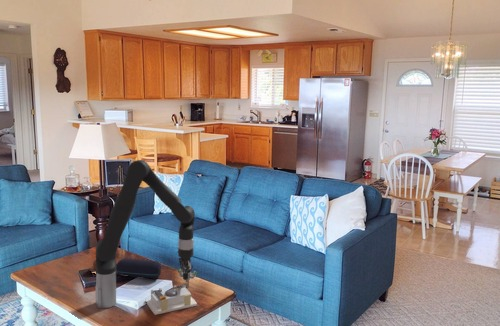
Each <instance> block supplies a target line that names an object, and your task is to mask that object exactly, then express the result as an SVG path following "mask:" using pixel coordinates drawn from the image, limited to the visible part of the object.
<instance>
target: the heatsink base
mask: <svg viewBox="0 0 500 326" xmlns="http://www.w3.org/2000/svg"><path fill="white" fill-rule="evenodd" d="M181 285H182V283H181ZM177 286H178V285H173V288H172V289H167V290H163V289H162V288H161V287H160V288H158V290H159V291H160V292H161V293H162V295H163V296H164V295H165V297H166V299H164V300H160V299H159V297H158V296H157V295H156V294H155V293H154V291H155V290H154V289H151V290H150V298H151V299H150V300H148V301H147V303H146V304H147V306H148V307H149V309H150V311H151V312H152V314H154V316H156V315H160V314H165V313H169V312H173V311H178V310H179V311H180V310H183V309H187V308H188V309H189V308H192V307H196V306H197V307H198V303H197V302H196V300H195V299H194V298H193V297H192V294H191V292H190V290H188V288H186V286H182V287H180V288H177Z"/></svg>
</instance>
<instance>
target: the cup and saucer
mask: <svg viewBox="0 0 500 326" xmlns="http://www.w3.org/2000/svg"><path fill="white" fill-rule="evenodd" d="M92 264H93V265H92V266H90V268H88V270H89V269H94V270H96V259H95V260H94V261H93V263H92Z"/></svg>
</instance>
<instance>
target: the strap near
mask: <svg viewBox="0 0 500 326" xmlns="http://www.w3.org/2000/svg"><path fill="white" fill-rule="evenodd" d="M154 293H155V294H156V295H157V296H158V297H159V299H160V300H164V299H166V297H165V295H164V296H163V295H162V293H161V292H160V291H159V289H155V290H154Z"/></svg>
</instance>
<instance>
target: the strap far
mask: <svg viewBox="0 0 500 326" xmlns="http://www.w3.org/2000/svg"><path fill="white" fill-rule="evenodd" d="M181 284H182V285H176V286H177V289H178V288H181V287H182V286H184V287H186V285H188V282H186V281H184V282H181Z"/></svg>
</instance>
